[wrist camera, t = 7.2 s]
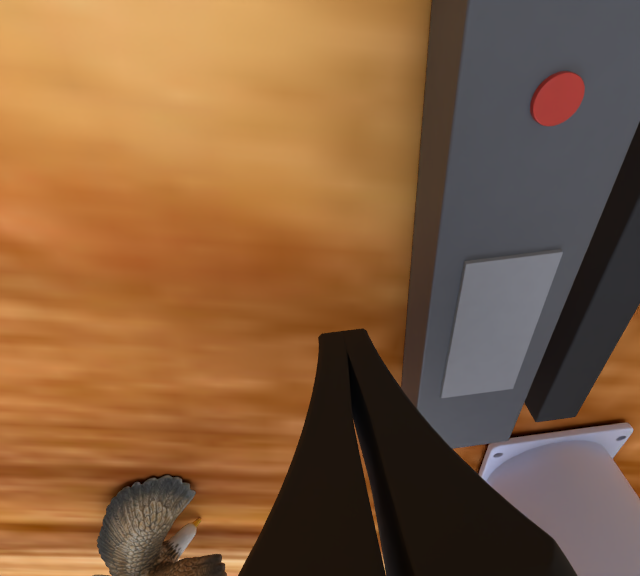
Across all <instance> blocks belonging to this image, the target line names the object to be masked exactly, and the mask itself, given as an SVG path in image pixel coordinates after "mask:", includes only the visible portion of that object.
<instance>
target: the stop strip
mask: <svg viewBox="0 0 640 576" xmlns="http://www.w3.org/2000/svg"><path fill="white" fill-rule="evenodd" d="M639 304H640V122H639V124H638V127H637V129H636V132H635V134H634V136H633V139H632V141H631V144H630V146H629V149H628V151H627V153H626V156H625V158H624V161H623V163H622V166H621V168H620V170H619V173H618V175H617V178H616V180H615V183H614V185H613V188H612V190H611V192H610V195H609V197H608V200H607V202H606V205H605V207H604V209H603V212H602V214H601V217H600V219H599V222H598V224H597V226H596V229H595V231H594V234H593V236H592V239H591V241H590V243H589V246H588V248H587V251H586V253H585V256H584V258H583V260H582V263H581V265H580V268H579V270H578V273H577V275H576V278H575V280H574V282H573V285H572V287H571V290H570V292H569V295H568V297H567V299H566V302H565V304H564V307H563V309H562V312H561V314H560V316H559V319H558V321H557V324H556V326H555V329H554V331H553V333H552V336H551V338H550V341H549V343H548V346H547V348H546V351H545V353H544V355H543V358H542V360H541V363H540V365H539V368H538V370H537V372H536V375H535V377H534V380H533V382H532V385H531V387H530V389H529V392H528V394H527V397H526V399H525V404H526V406H527V408H528V410H529V411H530V413H531V415H532V417H533V418H534V420H535V422H542V421H549V420H557V419H564V418H571V417H575V416H576V415H577V413H578V411H579V410H580V408H581V406H582V404H583V403H584V401H585V399H586V397H587V395H588V394H589V392H590V390H591V388H592V387H593V385H594V383H595V381H596V380H597V378H598V376H599V374H600V373H601V371H602V369H603V367H604V366H605V364H606V362H607V360H608V358H609V357H610V355H611V353H612V351H613V350H614V348H615V346H616V344H617V343H618V341H619V339H620V337H621V336H622V334H623V332H624V330H625V329H626V327H627V325H628V323H629V321H630V320H631V318H632V316H633V314H634V313H635V311H636V309H637V307H638V306H639Z"/></svg>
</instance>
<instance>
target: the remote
mask: <svg viewBox="0 0 640 576" xmlns="http://www.w3.org/2000/svg"><path fill="white" fill-rule="evenodd" d="M639 122H640V0H432V7H431V20H430V32H429V45H428V58H427V70H426V83H425V95H424V108H423V121H422V133H421V146H420V158H419V171H418V183H417V196H416V209H415V221H414V234H413V246H412V259H411V271H410V284H409V297H408V309H407V322H406V334H405V347H404V359H403V372H402V385H401V389H402V390H403V391H404V393H405V394H406V395H407V397H408V398H409V399H410V401H411V402H412V403H413V405H414V406H415V407H416V408H417V410H418V411H419V412H420V413H421V415H422V416H423V417H424V418H425V419H426V421H427V422H428V423H429V424H430V425H431V426H432V428H433V429H434V430H435V431H436V432H437V433H438V434H439V435H440V436H441V438H442V439H443V440H444V441H445V442H446V443H447V444H448V445H449V446H450V447H451V448H452V449H453V448H460V447H467V446H475V445H482V444H489V443H497V442H504V441H508V440H509V438H510V436H511V433H512V431H513V428H514V426H515V423H516V421H517V419H518V416H519V414H520V411H521V409H522V406H523V404H524V402H525V399H526V397H527V394H528V392H529V389H530V387H531V385H532V382H533V380H534V377H535V375H536V372H537V370H538V368H539V365H540V363H541V360H542V358H543V355H544V353H545V351H546V348H547V346H548V343H549V341H550V338H551V336H552V333H553V331H554V329H555V326H556V324H557V321H558V319H559V316H560V314H561V312H562V309H563V307H564V304H565V302H566V299H567V297H568V295H569V292H570V290H571V287H572V285H573V282H574V280H575V278H576V275H577V273H578V270H579V268H580V265H581V263H582V260H583V258H584V256H585V253H586V251H587V248H588V246H589V243H590V241H591V239H592V236H593V234H594V231H595V229H596V226H597V224H598V222H599V219H600V217H601V214H602V212H603V209H604V207H605V205H606V202H607V200H608V197H609V195H610V192H611V190H612V188H613V185H614V183H615V180H616V178H617V175H618V173H619V170H620V168H621V166H622V163H623V161H624V158H625V156H626V153H627V151H628V149H629V146H630V144H631V141H632V139H633V136H634V134H635V132H636V129H637V127H638V124H639Z"/></svg>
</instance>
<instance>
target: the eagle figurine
mask: <svg viewBox="0 0 640 576" xmlns="http://www.w3.org/2000/svg"><path fill="white" fill-rule="evenodd" d="M195 493H196V492H195V490H191V489H190V484H189V483H182V479H181V478H180V477H171V476H170V475H166V476H163V477H161V478H159V479H156V478H149V479H148V480H146V481H145V482H144V483H143V484H141V483H140V482H135V483H134V484H133V485H132V487H129V486H127V487H124V488H123V489H122V490H121V491H120V492H118V494H117V496H115V497H114V498H112V500H111V503H110V505H108V506H107V508H106V515H105V516H104V519H103V526H102V527H101V531H100V536H98V539H97V542H98V544H97V547H98V548H99V554H101V558H102V559H103V560H104V561H105V565H106V566H107V567H108V568H109V569H110V571H109V573H110V574H111V575H112V576H227V573H226V572H225V564H224V563H221V560H222V555H221V554H213V555H207V556H202V557H193V558H184V559H181V560H179V561H178V559H179V557H180V556H181V554H182V553H183V551H184V550H185V548H186V547H187V546H188V544H189V543H190V541H191V540H192V539H193V537H194V536H195V534H196V528H197V526H198V525H199V523H200V522H201V519H199V518H198V519H197V520H196V521H194V522H193V523H189V524H187V525H185V526H184V527H182V528H181V529H180V530H179V531H178V532H177V533H176V534H175V535H174V536H173V537H171V538H170V539H169V540H167V541H164V539H165V537H166V535H167V533H168V531H169V530H170V528H171V526H172V525H173V522H174V521H175V519H176V518H177V517H178V516H179V514H180V513H181V512H182V511H183V510H184V508H185V507H186V506H187V505H188V504H189V502H190V501H191V500H192V498H193V497H194V495H195ZM163 541H164V542H163ZM94 576H106V575H94ZM107 576H108V575H107Z"/></svg>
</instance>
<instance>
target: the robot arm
mask: <svg viewBox="0 0 640 576" xmlns="http://www.w3.org/2000/svg"><path fill="white" fill-rule="evenodd" d="M318 339H319V354H318V364H317V371H316V377H315V382H314V387H313V392H312V397H311V401H310V405H309V409H308V412H307V416H306V420H305V423H304V427H303V430H302V433H301V436H300V439H299V442H298V445H297V448H296V451H295V454H294V457H293V460H292V462H291V465H290V467H289V470H288V472H287V475H286V477H285V480H284V483H283V485H282V487H281V490H280V492H279V494H278V497H277V499H276V501H275V503H274V505H273V507H272V510H271V512H270V514H269V516H268V518H267V520H266V522H265V525H264V527H263V529H262V531H261V533H260V535H259V537H258V539H257V541H256V543H255V545H254V547H253V548H252V550H251V552H250V554H249V556H248V558H247V560H246V562H245V564H244V565H243V567H242V569H241V571H240V573H239V575H238V576H640V499H639V497H638V496H637V494H636V493H635V491H634V490H633V488H632V487H631V486H630V484H629V483H628V481H627V480H626V478H625V477H624V475H623V474H622V472H621V471H620V469H619V468H618V466H617V465H616V463H615V462H614V460H613V458H614V456H615V455H616V454H617V452H618V451H619V450H620V448H621V447H622V446H623V444H624V443H625V442H626V440H627V439H628V438H629V436H630V435H631V434H632V432H633V428H632V427H631V425H630V424H629V423H617V424H609V425H602V426H594V427H587V428H580V429H572V430H565V431H558V432H550V433H543V434H536V435H528V436H521V437H514V438H509V440H508V441H504V442H497V443H490V444H489V446H488V448H487V451H486V454H485V457H484V460H483V462H482V465H481V468H480V471H479V474H477V473H476V472H475V471H474V470H473V469H472V468H471V467H470V466H469V465H468V464H467V463H466V462H465V461H464V460H463V459H462V458H461V457H460V456H459V455H458V454H457V453H456V452H455V451H454V450H453V449H452V448H451V447H450V446H449V445H448V444H447V443H446V442H445V441H444V440H443V439H442V438H441V436H440V435H439V434H438V433H437V432H436V431H435V430H434V429H433V428H432V426H431V425H430V424H429V423H428V422H427V421H426V419H425V418H424V417H423V416H422V415H421V413H420V412H419V411H418V410H417V408H416V407H415V406H414V405H413V403H412V402H411V401H410V399H409V398H408V397H407V395H406V394H405V393H404V391H403V390H402V389H401V387H400V386H399V384H398V383H397V382H396V380H395V379H394V377H393V376H392V374H391V373H390V372H389V370H388V368H387V367H386V365H385V364H384V362H383V361H382V359H381V357H380V356H379V354H378V352H377V350H376V349H375V347H374V345H373V343H372V341H371V339H370V337H369V335H368V333H367V331H366V330H364V329H356V330H348V331H340V332H332V333H324V334H321V335H320V336H319V337H318ZM353 420H354V423H353ZM354 424H355V427H356V431H357V435H358V439H359V443H360V446H361V450H362V454H363V458H364V461H365V465H366V469H367V473H368V477H369V481H370V485H371V490H372V494H373V500H374V506H375V511H376V517H377V523H378V529H379V535H380V540H381V546H382V552H383V558H384V564H385V570H386V574H385V570H384V565H383V561H382V556H381V552H380V548H379V543H378V539H377V534H376V530H375V525H374V521H373V516H372V511H371V507H370V502H369V497H368V493H367V488H366V483H365V478H364V473H363V469H362V464H361V459H360V454H359V449H358V444H357V439H356V434H355V429H354Z"/></svg>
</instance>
